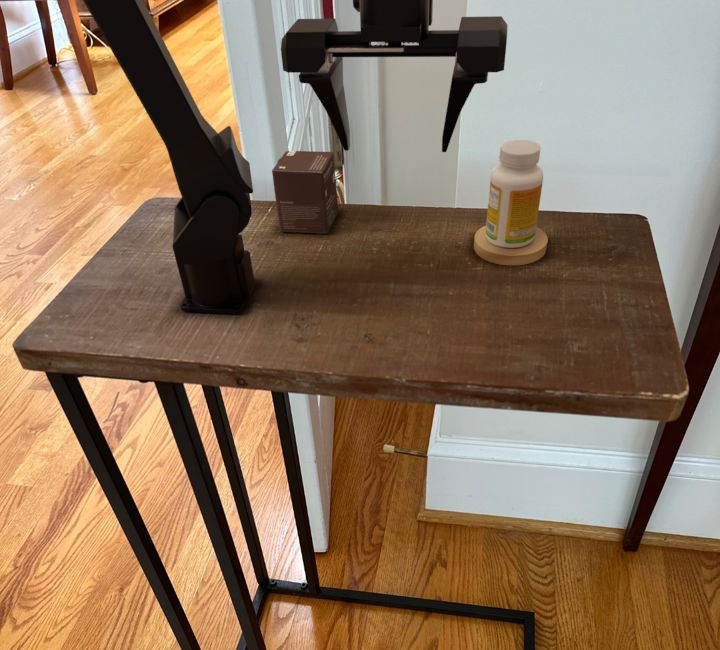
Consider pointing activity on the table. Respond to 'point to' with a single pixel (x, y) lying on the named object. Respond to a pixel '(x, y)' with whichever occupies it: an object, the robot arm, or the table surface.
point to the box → (305, 191)
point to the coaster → (510, 249)
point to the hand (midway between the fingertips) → (395, 149)
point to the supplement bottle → (514, 195)
